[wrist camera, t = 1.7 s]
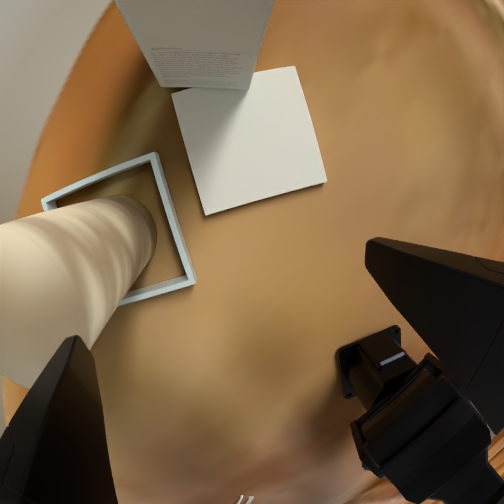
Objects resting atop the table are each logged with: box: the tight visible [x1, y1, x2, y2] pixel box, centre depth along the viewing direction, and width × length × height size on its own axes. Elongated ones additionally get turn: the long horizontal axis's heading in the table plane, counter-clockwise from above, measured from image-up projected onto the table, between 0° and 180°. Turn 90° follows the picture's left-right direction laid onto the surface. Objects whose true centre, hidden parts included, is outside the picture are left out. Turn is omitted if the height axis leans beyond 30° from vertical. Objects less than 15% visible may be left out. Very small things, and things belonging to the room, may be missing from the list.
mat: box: [171, 66, 327, 216], centre depth 20 cm, size 9×9×1 cm
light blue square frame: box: [41, 152, 197, 306], centre depth 20 cm, size 9×9×2 cm
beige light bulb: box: [0, 195, 157, 389], centre depth 14 cm, size 6×6×14 cm
